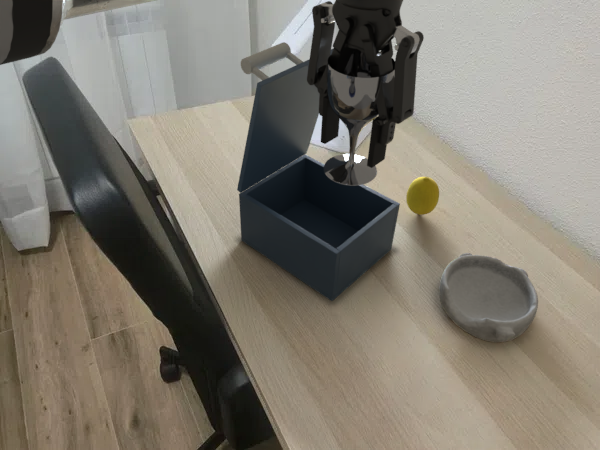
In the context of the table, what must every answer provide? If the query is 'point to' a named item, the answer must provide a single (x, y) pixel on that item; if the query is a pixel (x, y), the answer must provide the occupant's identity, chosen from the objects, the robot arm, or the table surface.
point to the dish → (488, 297)
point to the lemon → (422, 195)
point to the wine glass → (353, 115)
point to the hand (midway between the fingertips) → (352, 150)
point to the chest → (317, 225)
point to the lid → (277, 115)
